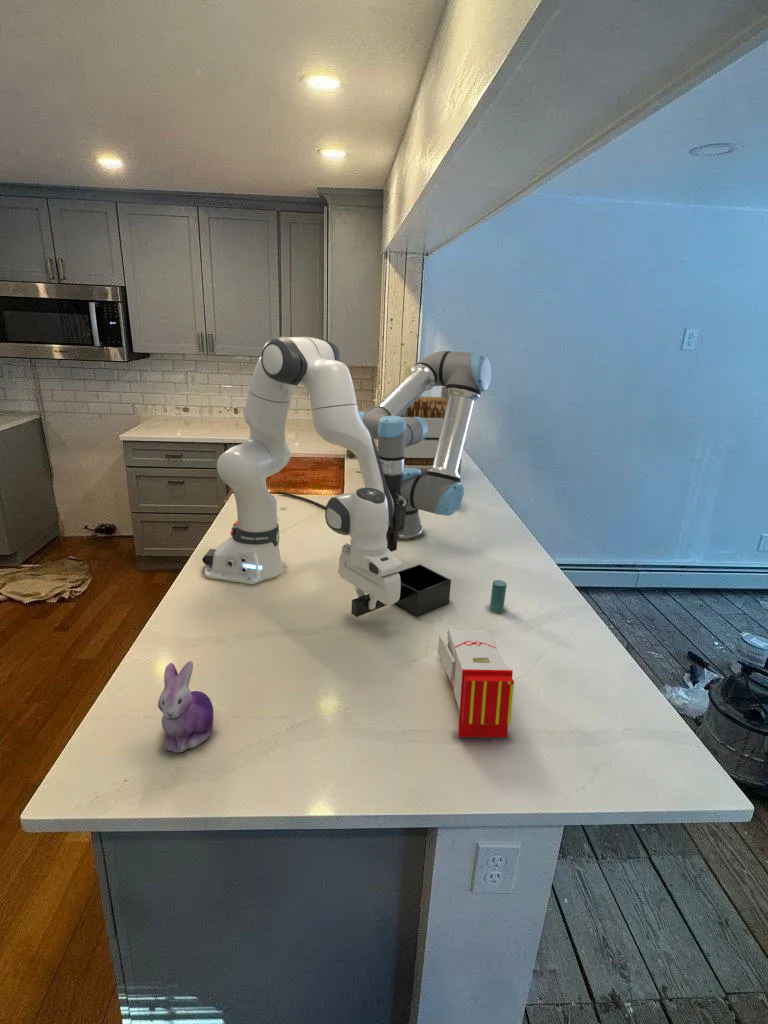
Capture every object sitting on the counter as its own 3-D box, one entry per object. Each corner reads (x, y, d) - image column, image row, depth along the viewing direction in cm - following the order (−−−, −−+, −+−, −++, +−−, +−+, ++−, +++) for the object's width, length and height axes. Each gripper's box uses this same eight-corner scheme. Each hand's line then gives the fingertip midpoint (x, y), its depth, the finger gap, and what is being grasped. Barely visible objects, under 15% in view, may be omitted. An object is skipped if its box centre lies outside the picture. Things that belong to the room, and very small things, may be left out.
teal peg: (486, 608, 152) (490, 582, 149) (495, 604, 154) (498, 578, 152) (497, 614, 150) (500, 587, 147) (505, 610, 152) (509, 583, 149)
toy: (488, 613, 130) (523, 677, 101) (484, 667, 133) (517, 744, 104) (435, 612, 130) (455, 676, 101) (432, 666, 133) (451, 743, 103)
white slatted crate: (382, 463, 289) (386, 382, 275) (445, 464, 293) (451, 384, 279) (390, 482, 257) (394, 392, 243) (460, 483, 261) (468, 394, 247)
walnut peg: (378, 548, 168) (379, 523, 165) (388, 545, 170) (389, 520, 167) (386, 552, 165) (387, 527, 162) (396, 549, 167) (397, 524, 164)
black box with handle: (338, 616, 145) (339, 591, 143) (418, 586, 163) (419, 564, 160) (368, 637, 137) (369, 611, 134) (449, 603, 154) (451, 580, 152)
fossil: (346, 440, 314) (367, 425, 309) (357, 454, 317) (378, 439, 312) (340, 454, 295) (362, 438, 290) (351, 468, 298) (374, 453, 293)
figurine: (165, 763, 97) (157, 690, 92) (158, 725, 105) (150, 656, 100) (221, 746, 101) (217, 675, 96) (210, 711, 109) (205, 644, 104)
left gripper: (332, 544, 142) (332, 593, 147) (385, 573, 128) (383, 626, 133) (352, 538, 146) (351, 586, 151) (406, 566, 132) (403, 618, 137)
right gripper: (361, 467, 162) (360, 542, 171) (400, 482, 151) (396, 561, 159) (381, 463, 167) (379, 536, 175) (420, 477, 155) (416, 554, 164)
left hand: (366, 605), depth 142 cm, fingers closed on black box with handle
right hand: (387, 548), depth 167 cm, fingers closed on walnut peg, 3 cm apart
